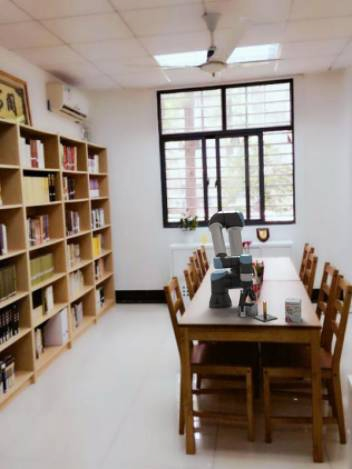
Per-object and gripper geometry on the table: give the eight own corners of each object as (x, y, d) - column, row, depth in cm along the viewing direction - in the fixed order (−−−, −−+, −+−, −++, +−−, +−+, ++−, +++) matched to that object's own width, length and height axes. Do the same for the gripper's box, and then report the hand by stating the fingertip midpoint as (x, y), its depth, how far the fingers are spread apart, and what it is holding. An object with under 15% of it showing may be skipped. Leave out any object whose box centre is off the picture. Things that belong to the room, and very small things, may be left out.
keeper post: (253, 317, 259) (252, 301, 258) (266, 314, 264) (266, 298, 263) (263, 321, 250) (262, 305, 249) (277, 318, 255) (276, 302, 254)
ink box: (284, 321, 249) (284, 301, 248) (286, 317, 257) (286, 297, 256) (300, 322, 246) (300, 301, 245) (301, 317, 254) (301, 298, 253)
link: (238, 315, 266) (237, 305, 266) (244, 311, 274) (244, 301, 273) (251, 316, 261) (251, 307, 261) (257, 312, 269) (257, 303, 268)
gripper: (243, 284, 253) (244, 320, 255) (260, 276, 273) (261, 309, 275) (231, 283, 257) (233, 318, 259) (249, 275, 278) (250, 308, 280)
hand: (248, 314), depth 267 cm, fingers open, 13 cm apart
